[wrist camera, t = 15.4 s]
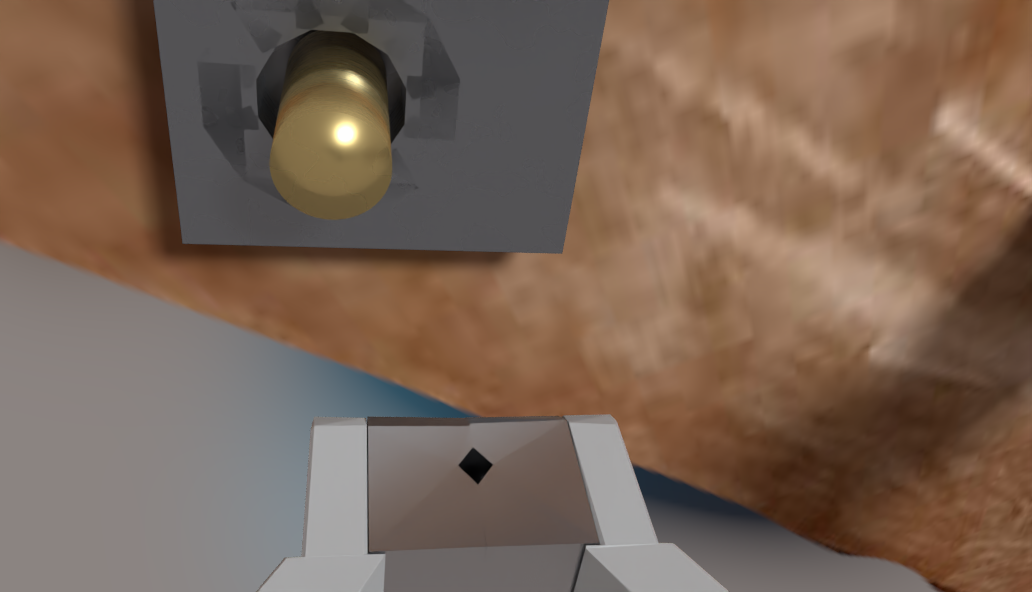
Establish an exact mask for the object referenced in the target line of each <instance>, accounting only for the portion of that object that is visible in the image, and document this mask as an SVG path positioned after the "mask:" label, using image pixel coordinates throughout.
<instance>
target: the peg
mask: <svg viewBox="0 0 1032 592" xmlns="http://www.w3.org/2000/svg"><path fill="white" fill-rule="evenodd" d="M269 164H270V173H271V177H272V180H273V183H274V185H275V187H276V189H277V190H278V192H279V193H280V194H281V196H282V197H283V198H284V199H285V200H286V201H287V202H288V203H289V204H290V205H291V206H293V207H294V208H296V209H297V210H299V211H301V212H303V213H305V214H307V215H310V216H313V217H316V218H320V219H327V220H340V219H347V218H351V217H355V216H358V215H360V214H362V213H364V212H366V211H368V210H369V209H371V208H372V207H373V206H375V205H376V204H377V203H378V202H379V201H380V200H381V199H382V197H383V196H384V194H385V193H386V191H387V189H388V187H389V184H390V181H391V177H392V155H391V139H390V123H389V108H388V92H387V77H386V69H385V65H384V62H383V60H382V58H381V56H380V54H379V52H378V51H377V50H376V48H375V47H374V46H373V45H372V44H370V43H369V42H367V41H365V40H364V39H362V38H361V37H359V36H358V35H356V34H354V33H350V32H336V31H323V30H318V31H315V32H313V33H311V34H309V35H307V36H305V37H304V38H303V39H302V40H300V41H299V42H298V43H297V45H296V46H295V47H294V49H293V50H292V52H291V54H290V56H289V59H288V63H287V67H286V73H285V78H284V83H283V89H282V94H281V99H280V105H279V110H278V115H277V121H276V126H275V131H274V137H273V142H272V147H271V153H270V161H269Z"/></svg>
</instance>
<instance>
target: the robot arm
mask: <svg viewBox="0 0 1032 592" xmlns="http://www.w3.org/2000/svg"><path fill="white" fill-rule="evenodd" d="M256 592H729V591H728V590H727V589H726V588H725V587H723V586H722V585H721V584H720V583H719V582H718V581H717V580H715V579H714V578H713V577H712V576H711V575H710V574H708V573H707V572H706V571H705V570H704V569H702V567H700V566H699V565H698V564H697V563H696V562H695V561H694V560H692V559H691V558H690V557H689V556H688V555H687V554H685V553H684V552H683V551H682V550H681V549H680V548H678V547H677V546H676V545H675V544H674V543H658V540H657V537H656V534H655V531H654V528H653V526H652V523H651V520H650V517H649V514H648V511H647V508H646V505H645V502H644V499H643V496H642V493H641V491H640V488H639V485H638V482H637V479H636V476H635V473H634V470H633V467H632V464H631V461H630V458H629V456H628V453H627V450H626V447H625V444H624V441H623V438H622V435H621V432H620V429H619V426H618V424H617V421H616V420H615V419H614V418H613V417H612V416H611V415H570V416H562V417H560V416H529V417H473V418H418V417H368V419H367V423H366V418H342V417H314V420H313V423H312V427H311V433H310V447H309V460H308V474H307V488H306V502H305V516H304V529H303V542H302V556H301V557H288V558H284V559H283V560H282V562H281V563H280V564H279V565H278V566H277V567H276V569H275V570H274V571H273V572H272V573H271V575H270V576H269V577H268V578H267V579H266V580H265V582H264V583H263V584H262V585H261V586H260V588H259V589H258V590H257V591H256Z"/></svg>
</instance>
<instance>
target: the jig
mask: <svg viewBox="0 0 1032 592" xmlns="http://www.w3.org/2000/svg"><path fill="white" fill-rule="evenodd" d="M153 1H154V10H155V18H156V26H157V35H158V43H159V51H160V60H161V68H162V76H163V85H164V93H165V101H166V110H167V118H168V126H169V135H170V143H171V151H172V159H173V168H174V176H175V184H176V193H177V201H178V209H179V218H180V226H181V234H182V243H183V244H216V245H255V246H293V247H331V248H369V249H408V250H446V251H484V252H522V253H561V254H562V252H563V246H564V241H565V236H566V230H567V225H568V219H569V214H570V209H571V203H572V198H573V192H574V187H575V182H576V176H577V171H578V165H579V160H580V155H581V149H582V144H583V138H584V133H585V128H586V122H587V117H588V111H589V106H590V101H591V95H592V90H593V84H594V79H595V74H596V68H597V63H598V57H599V52H600V47H601V41H602V36H603V30H604V25H605V20H606V14H607V9H608V3H609V0H153ZM318 30H323V31H336V32H350V33H354V34H356V35H358V36H359V37H361V38H362V39H364V40H365V41H367V42H369V43H370V44H372V45H373V46H374V47H375V48H376V50H377V51H378V52H379V54H380V56H381V58H382V60H383V62H384V65H385V69H386V77H387V92H388V108H389V123H390V139H391V155H392V177H391V181H390V184H389V187H388V189H387V191H386V193H385V194H384V196H383V197H382V199H381V200H380V201H379V202H378V203H377V204H376V205H375V206H373V207H372V208H371V209H369V210H368V211H366V212H364V213H362V214H360V215H358V216H355V217H351V218H347V219H340V220H327V219H320V218H316V217H313V216H310V215H307V214H305V213H303V212H301V211H299V210H297V209H296V208H294V207H293V206H291V205H290V204H289V203H288V202H287V201H286V200H285V199H284V198H283V197H282V196H281V194H280V193H279V192H278V190H277V189H276V187H275V185H274V183H273V180H272V177H271V173H270V164H269V161H270V153H271V147H272V142H273V137H274V131H275V126H276V121H277V115H278V110H279V105H280V99H281V94H282V89H283V83H284V78H285V73H286V67H287V63H288V59H289V56H290V54H291V52H292V50H293V49H294V47H295V46H296V45H297V43H298V42H299V41H300V40H302V39H303V38H304V37H305V36H307V35H309V34H311V33H313V32H315V31H318Z"/></svg>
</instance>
